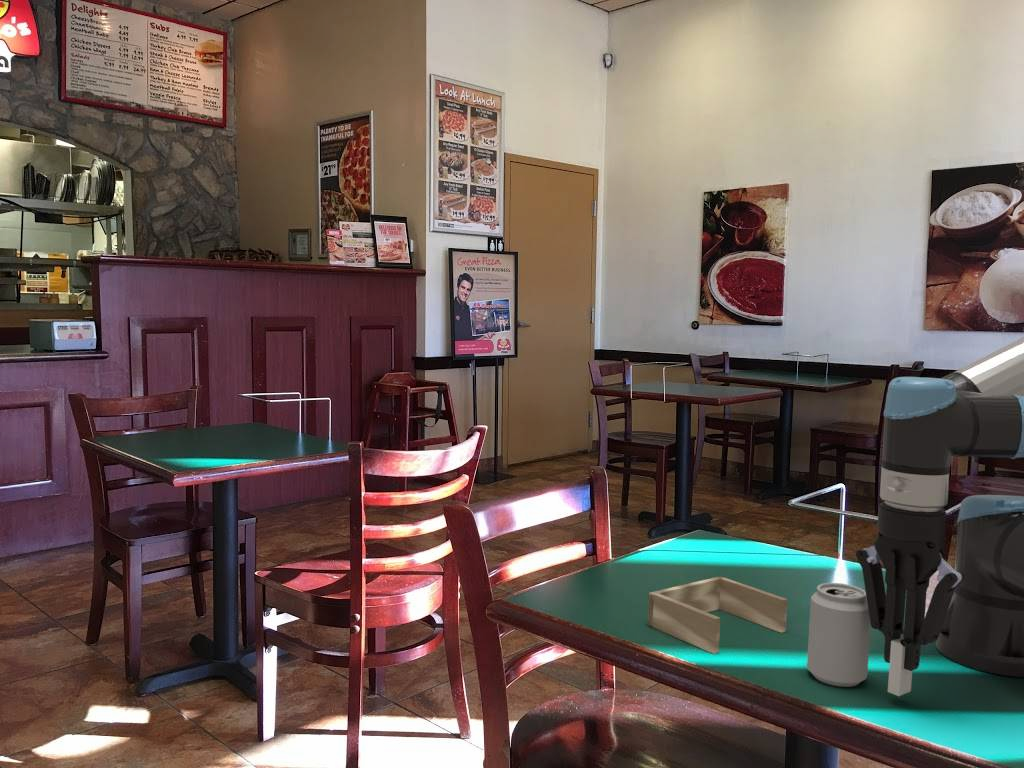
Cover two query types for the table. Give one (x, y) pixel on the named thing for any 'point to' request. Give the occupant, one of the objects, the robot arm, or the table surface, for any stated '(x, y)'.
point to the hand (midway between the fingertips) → (899, 691)
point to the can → (839, 635)
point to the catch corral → (689, 605)
